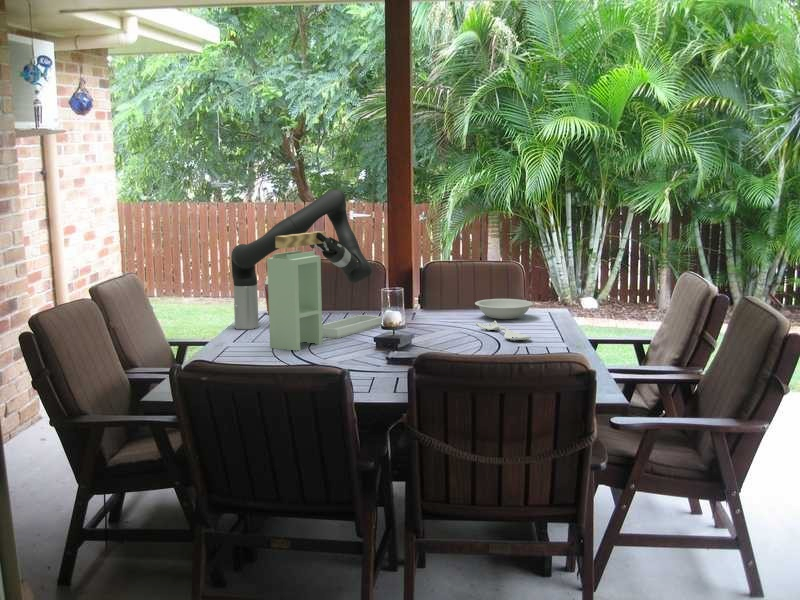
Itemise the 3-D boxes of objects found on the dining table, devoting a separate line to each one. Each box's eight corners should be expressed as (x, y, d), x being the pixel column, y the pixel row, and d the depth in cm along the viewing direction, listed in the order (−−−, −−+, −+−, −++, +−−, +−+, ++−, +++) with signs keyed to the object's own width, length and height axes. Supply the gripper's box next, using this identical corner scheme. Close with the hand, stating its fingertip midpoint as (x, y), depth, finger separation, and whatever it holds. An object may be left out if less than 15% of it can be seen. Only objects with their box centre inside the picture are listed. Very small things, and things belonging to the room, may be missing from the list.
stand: (296, 351, 315) (294, 255, 310) (270, 347, 321) (267, 254, 316) (322, 343, 328) (320, 251, 322) (296, 340, 334) (293, 250, 329)
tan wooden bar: (284, 248, 312) (284, 236, 311) (275, 247, 314) (275, 236, 313) (326, 242, 332) (325, 231, 331) (317, 242, 334) (317, 231, 333)
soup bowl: (542, 316, 379) (542, 301, 378) (518, 325, 359) (518, 309, 358) (491, 312, 392) (491, 297, 391) (464, 320, 372) (464, 304, 371)
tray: (337, 338, 336) (337, 329, 336) (313, 336, 342) (313, 326, 341) (382, 325, 362) (382, 316, 362) (360, 323, 368) (359, 314, 367)
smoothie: (288, 312, 395) (286, 267, 392) (279, 315, 387) (278, 269, 384) (270, 311, 398) (269, 266, 395) (262, 315, 390) (260, 269, 387)
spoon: (495, 328, 356) (495, 319, 355) (535, 342, 326) (535, 333, 326) (474, 329, 353) (474, 321, 352) (513, 344, 323) (513, 335, 323)
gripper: (324, 244, 346) (299, 224, 332) (355, 245, 339) (331, 225, 325) (319, 262, 344) (293, 242, 330) (349, 264, 336) (325, 244, 323)
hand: (312, 234), depth 328 cm, fingers closed on tan wooden bar, 4 cm apart
